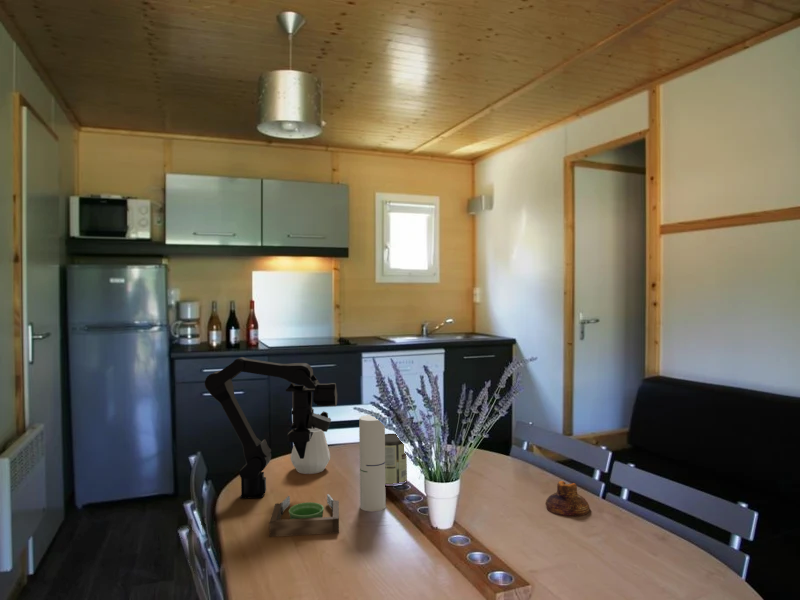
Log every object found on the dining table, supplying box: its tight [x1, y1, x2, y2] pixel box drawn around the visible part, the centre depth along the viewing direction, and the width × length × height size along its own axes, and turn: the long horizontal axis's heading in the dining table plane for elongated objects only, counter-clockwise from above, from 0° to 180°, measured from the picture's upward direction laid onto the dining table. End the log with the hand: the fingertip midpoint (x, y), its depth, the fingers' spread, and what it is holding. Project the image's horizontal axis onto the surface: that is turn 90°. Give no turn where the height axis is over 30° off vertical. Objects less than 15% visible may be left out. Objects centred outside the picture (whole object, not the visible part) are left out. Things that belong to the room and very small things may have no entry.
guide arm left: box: [280, 495, 291, 516], centre depth 154 cm, size 6×1×3 cm, turn 170°
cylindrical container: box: [358, 414, 387, 512], centre depth 156 cm, size 7×7×25 cm
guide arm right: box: [326, 493, 336, 513], centre depth 155 cm, size 6×1×3 cm, turn 22°
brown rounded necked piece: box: [545, 480, 591, 517], centre depth 154 cm, size 12×12×7 cm
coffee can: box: [385, 433, 408, 484], centre depth 177 cm, size 10×10×14 cm
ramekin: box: [288, 501, 325, 519], centre depth 144 cm, size 9×9×4 cm
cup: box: [290, 427, 331, 475], centre depth 190 cm, size 13×13×14 cm
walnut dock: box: [268, 500, 340, 538], centre depth 144 cm, size 17×12×4 cm
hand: (302, 458), depth 166 cm, fingers closed
